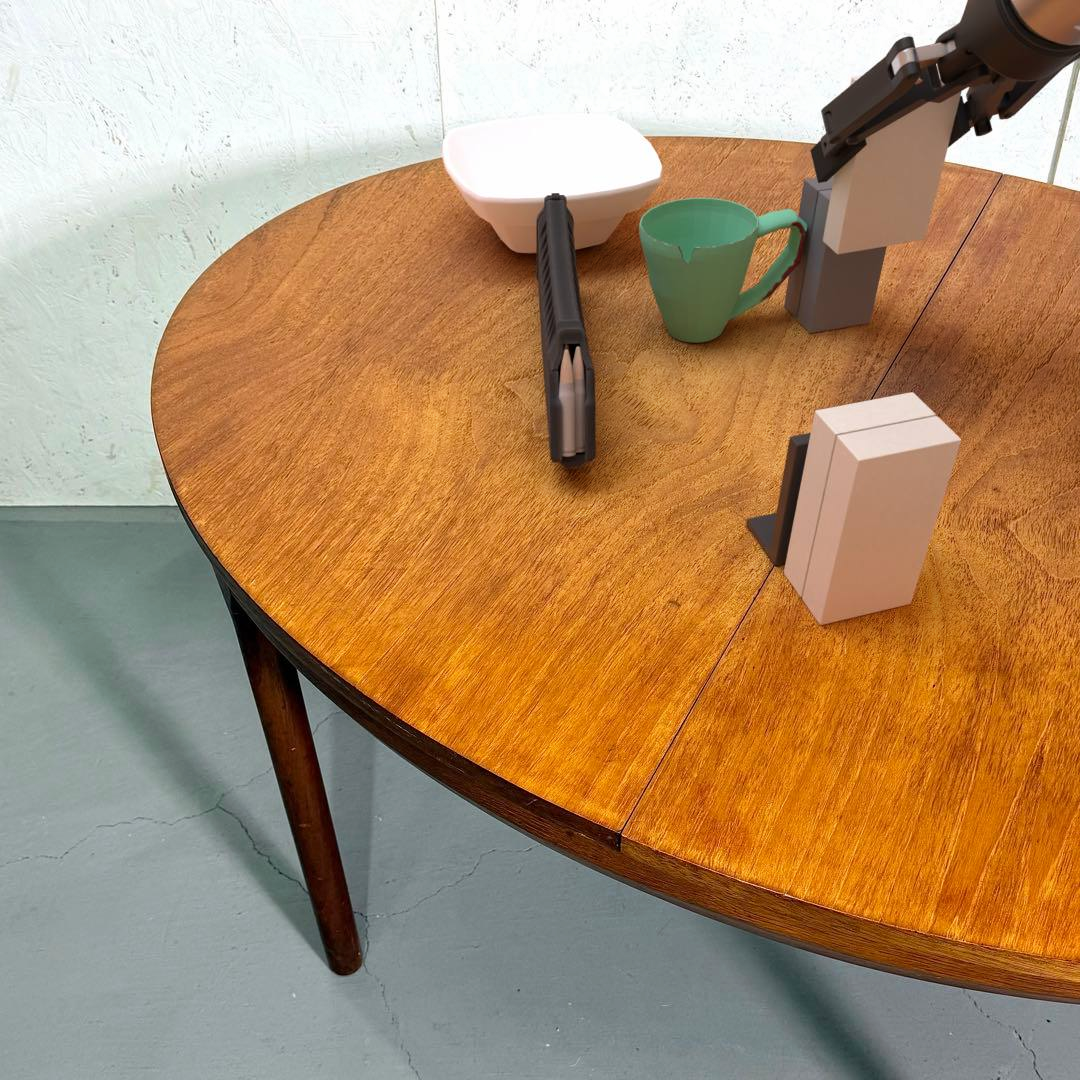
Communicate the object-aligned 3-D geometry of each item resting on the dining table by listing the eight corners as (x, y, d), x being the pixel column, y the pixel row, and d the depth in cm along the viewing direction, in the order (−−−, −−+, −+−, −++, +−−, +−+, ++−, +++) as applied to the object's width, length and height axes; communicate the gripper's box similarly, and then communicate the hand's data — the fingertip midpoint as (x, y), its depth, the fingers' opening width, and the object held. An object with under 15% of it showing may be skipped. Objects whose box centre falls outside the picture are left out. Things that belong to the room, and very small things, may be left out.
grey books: (842, 296, 99) (867, 170, 91) (870, 323, 95) (899, 193, 87) (783, 306, 97) (803, 178, 89) (809, 333, 94) (833, 203, 86)
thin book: (908, 226, 88) (946, 64, 80) (925, 240, 87) (965, 75, 78) (822, 241, 87) (851, 76, 78) (837, 254, 85) (868, 88, 76)
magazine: (534, 186, 96) (547, 237, 69) (570, 185, 96) (597, 236, 69) (538, 371, 103) (550, 484, 76) (571, 370, 103) (596, 483, 76)
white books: (835, 505, 76) (871, 346, 67) (914, 603, 68) (966, 438, 60) (745, 524, 74) (770, 364, 66) (816, 626, 67) (854, 461, 58)
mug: (662, 366, 90) (664, 256, 83) (624, 314, 97) (623, 209, 90) (821, 333, 92) (835, 224, 86) (772, 284, 99) (781, 180, 93)
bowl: (469, 295, 99) (464, 207, 94) (434, 205, 115) (427, 124, 109) (678, 269, 103) (686, 183, 97) (617, 185, 118) (620, 106, 112)
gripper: (915, 71, 61) (759, 222, 83) (1217, 32, 65) (991, 186, 87) (885, -54, 61) (737, 130, 83) (1187, -84, 65) (969, 98, 88)
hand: (867, 158), depth 85 cm, fingers closed on thin book, 8 cm apart
